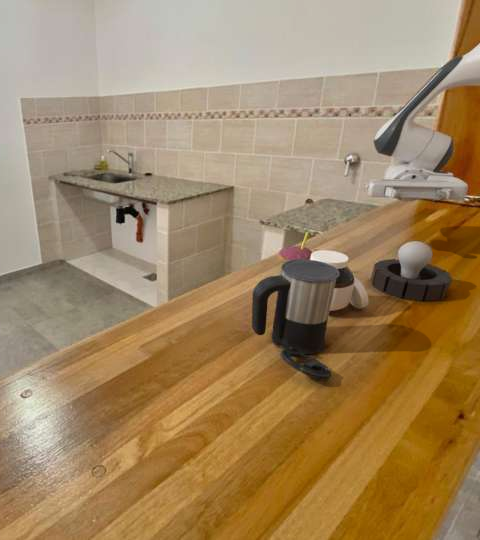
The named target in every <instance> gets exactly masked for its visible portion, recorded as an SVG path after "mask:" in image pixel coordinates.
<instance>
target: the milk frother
mask: <svg viewBox="0 0 480 540" xmlns="http://www.w3.org/2000/svg"><path fill="white" fill-rule="evenodd" d="M280 269H281V271H282V273H281V275H273V276H267V277H265V278H263V279H261V280H260V281H259V282H258V283H256V285H255V287H254V288H253V290H252V301H251V303H252V304H251V328H252V330H253V331H254V333H255V334H256V335H258V336H263V335H265V333H266V330H267V329H266V328H267V318H268V317H267V316H268V302H269V298H270V297H271V295H272V294H274V293H277V297H276V303H275V308H274V316H273V321H272V331H271V339H272V341H273V343H275V345H277V346H278V347H279V348H281V349H283V350H281V352H280V353H279V354H280V355H279V356H280V358H281V359H282V360H283V361H284V362H285V363H286V364H287V365H288V366H290V367H292V369H293V368H294V369H295V370H296V371H298V372H300V373H301V374H304V375H306V376H308V377H311V378H314V379H317V380H320V381H326V380H330V379H331V377H332V371H331V368H330V367H327V366H326V365H325V364H324V363H323V362H321V361H320V360H318V359H316V358H314V357H312V356H309V355H313V354H317V353H320V352H321V351H323V350H324V349H325V347H326V342H325V339H326V331H327V327H328V321H329V316H330V314H329V312H330V307H331V302H332V297H333V292H334V287H335V282H336V278H337V277H338V276H339V271H338V270H337V268H335V267H333V266H331V265H329V264H326V263H323V262H320V261H315V260H306V259H302V260H290V261H287V262H285V263H283V264H282V263H281V266H280ZM293 358H297V359H300V360H303V361H306V362H305V363H303V362H300V363H299V362H298V361H296V360H295V359H293Z"/></svg>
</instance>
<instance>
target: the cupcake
mask: <svg viewBox="0 0 480 540" xmlns="http://www.w3.org/2000/svg"><path fill="white" fill-rule="evenodd" d="M309 235H310V229H308V230H307V231H306V232H305V235H304V238H303V241H302V244H301V245H289V246H286V247H283V248H282V249H280V250H279V252H278V254H277V258H278V261H279V262H280V263H281V265H282V264H283V263H285V262H287V261H290V260H302V259H306V260H310V258H311V254H312V253H313V252H314V251H312V250H311V249H309V248H307V247H306V244H307V241H308V237H309Z"/></svg>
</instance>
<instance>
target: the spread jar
mask: <svg viewBox="0 0 480 540" xmlns="http://www.w3.org/2000/svg"><path fill="white" fill-rule="evenodd" d="M312 252H313V253H312V254H311V258H310V260H315V261H320V262H323V263H326V264H329V265H331V266H333V267H335V268H337V270H338V271H339V276H338V277H337V278H336V282H335V287H334V292H333V297H332V302H331V307H330V312H329V315H332V314H335V313H338V312H340V311H343V310H344V309H345V308H346V307H348V306H349V304H351V306H352V307H354V308H356V309H362V308H366V307H368V305H369V296H368V293H367V290H366V288H365V287H364V285H363V284H362V282H361V281H360V280H359V279H358V278H357V277H356V276H354V274H353V272H352V270H351V269H350V267H348V264H349V256H348V255H346V254H345V253H342V252H339V251H335V250H326V249H325V250H324V249H323V250H322V249H321V250H320V249H319V250H316V251H315V250H314V251H312Z"/></svg>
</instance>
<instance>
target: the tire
mask: <svg viewBox="0 0 480 540" xmlns="http://www.w3.org/2000/svg"><path fill="white" fill-rule="evenodd" d="M452 280H453V277H452V276H451V274H450V273H449V272H448V271H447V270H445V269H443V268H441V267H439V266H436V265H433V264H431V263H428V264H427V265H426V266H425V267H424V268H423V269H422V270H421V271H420V273H419V274H418V277H417V278H416V279H408V278H405V277H401V264H400V262H399V259H398V258H397V259H396V258H390V259H383V260H379V261H377V262H376V263H374V264H373V267H372V273H371V277H370V282H371V285H372V286H373V288H375V289H377V290H378V291H380V293H385V294H386V295H388V296H392V297H395V298H398V299H402V298H403V299H404V300H406V301H413V302H414V301H415V302H420V303H421V302H425V303H428V302H438V301H441V300H443V299H444V298H446V296H447V295H448V292H449V289H450V287H451V284H452Z"/></svg>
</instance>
